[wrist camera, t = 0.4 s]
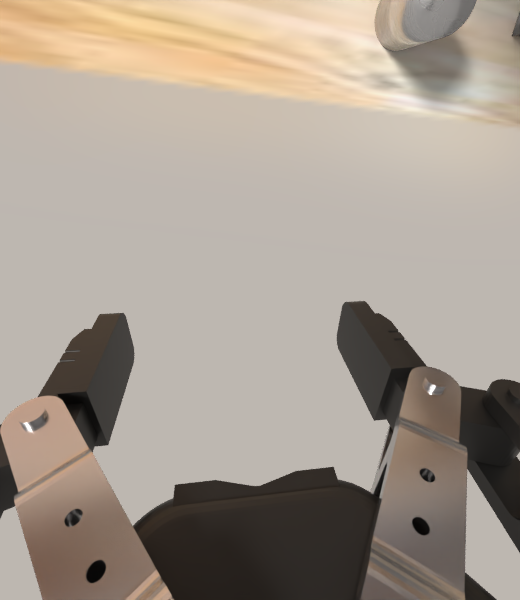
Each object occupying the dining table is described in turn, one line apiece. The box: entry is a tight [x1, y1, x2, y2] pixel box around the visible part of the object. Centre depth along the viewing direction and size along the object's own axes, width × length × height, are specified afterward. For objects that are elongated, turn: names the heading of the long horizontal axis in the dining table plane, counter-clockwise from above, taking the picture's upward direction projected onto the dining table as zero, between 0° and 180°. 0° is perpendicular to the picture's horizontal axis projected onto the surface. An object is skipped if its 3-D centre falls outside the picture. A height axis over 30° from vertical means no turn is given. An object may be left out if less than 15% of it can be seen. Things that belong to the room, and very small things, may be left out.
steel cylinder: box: [375, 0, 477, 51], centre depth 27 cm, size 5×5×7 cm
